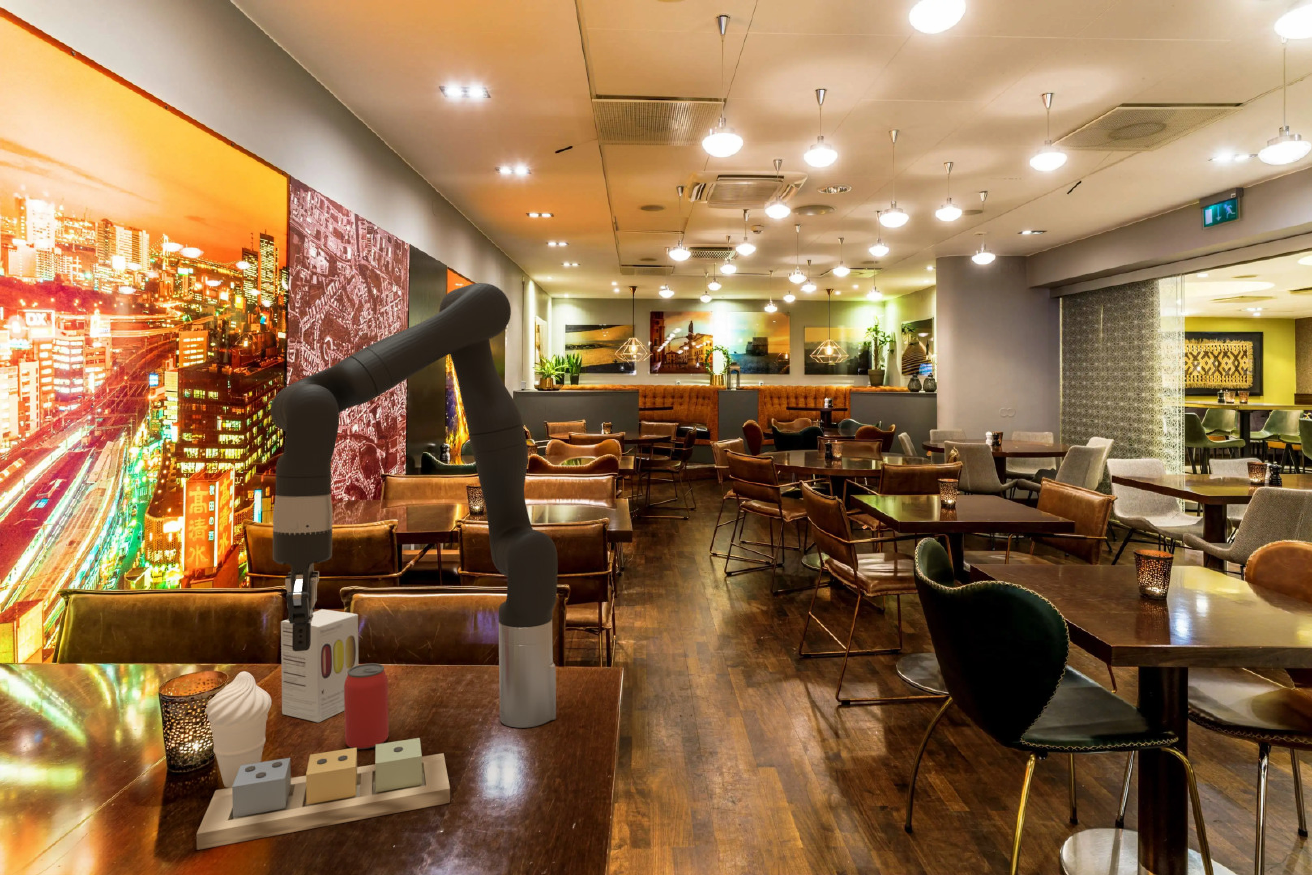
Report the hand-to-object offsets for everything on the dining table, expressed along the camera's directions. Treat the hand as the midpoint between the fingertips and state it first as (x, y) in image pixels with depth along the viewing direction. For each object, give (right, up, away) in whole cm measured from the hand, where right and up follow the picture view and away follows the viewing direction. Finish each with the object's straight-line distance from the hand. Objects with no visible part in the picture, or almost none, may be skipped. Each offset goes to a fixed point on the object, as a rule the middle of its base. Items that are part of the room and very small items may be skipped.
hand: (301, 649), depth 102 cm
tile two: (+6, -18, -3) cm, 19 cm away
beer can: (+3, -20, +16) cm, 26 cm away
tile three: (-2, -19, -6) cm, 20 cm away
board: (+6, -20, -3) cm, 21 cm away
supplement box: (-11, -20, +29) cm, 37 cm away
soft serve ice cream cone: (-11, -20, +3) cm, 23 cm away
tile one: (+14, -18, 0) cm, 23 cm away
